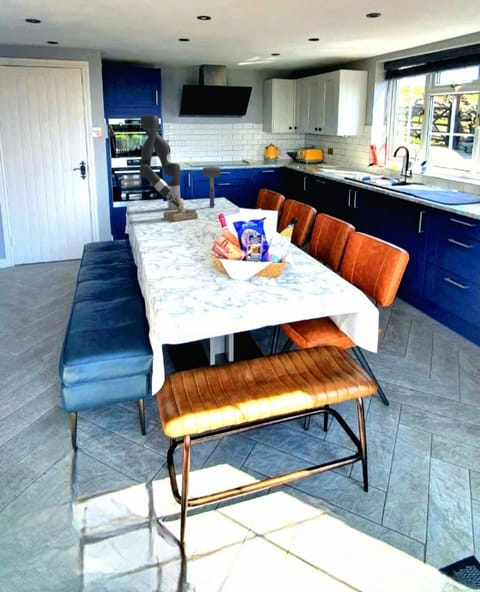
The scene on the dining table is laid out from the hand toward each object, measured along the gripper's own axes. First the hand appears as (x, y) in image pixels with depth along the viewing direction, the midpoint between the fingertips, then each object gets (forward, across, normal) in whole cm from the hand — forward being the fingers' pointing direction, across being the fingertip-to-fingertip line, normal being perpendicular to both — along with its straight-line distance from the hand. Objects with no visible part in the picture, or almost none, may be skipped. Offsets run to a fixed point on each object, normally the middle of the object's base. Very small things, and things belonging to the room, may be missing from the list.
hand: (180, 205), depth 345 cm
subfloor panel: (+6, 0, +6) cm, 9 cm away
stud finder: (+9, 0, -2) cm, 9 cm away
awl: (+6, 0, +6) cm, 8 cm away
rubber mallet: (+18, +42, -4) cm, 46 cm away
